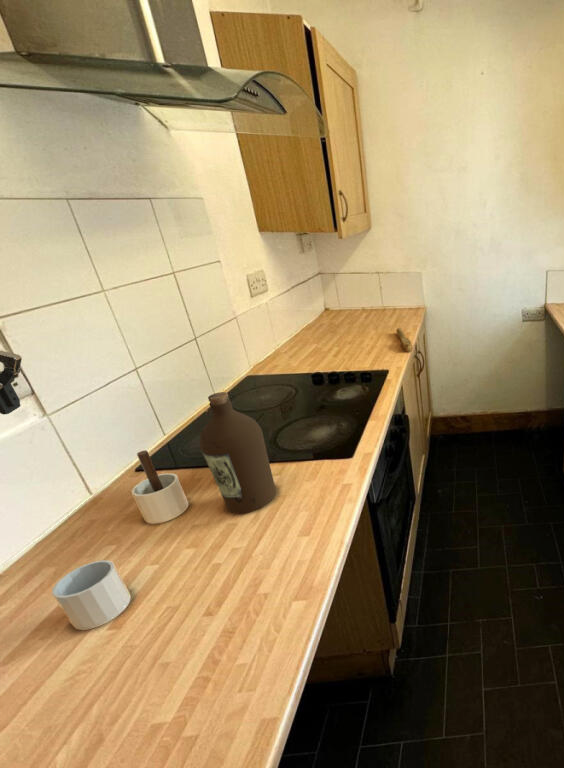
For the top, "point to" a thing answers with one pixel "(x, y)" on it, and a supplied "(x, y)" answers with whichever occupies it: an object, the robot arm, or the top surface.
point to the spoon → (150, 471)
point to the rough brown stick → (404, 340)
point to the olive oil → (237, 457)
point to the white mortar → (92, 594)
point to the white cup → (160, 499)
